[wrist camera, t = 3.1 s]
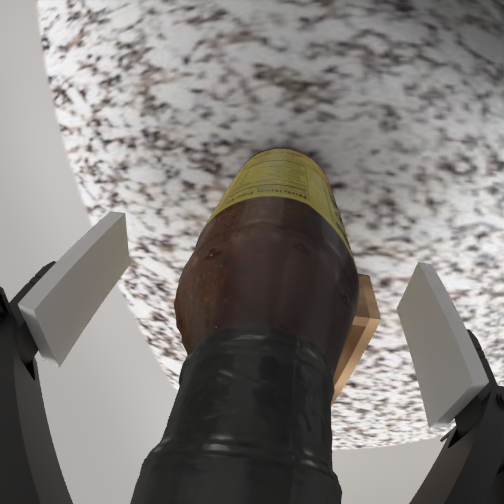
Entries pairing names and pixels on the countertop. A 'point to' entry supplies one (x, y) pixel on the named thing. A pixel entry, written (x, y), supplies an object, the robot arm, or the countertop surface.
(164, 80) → the countertop surface
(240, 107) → the countertop surface
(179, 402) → the sauce bottle
